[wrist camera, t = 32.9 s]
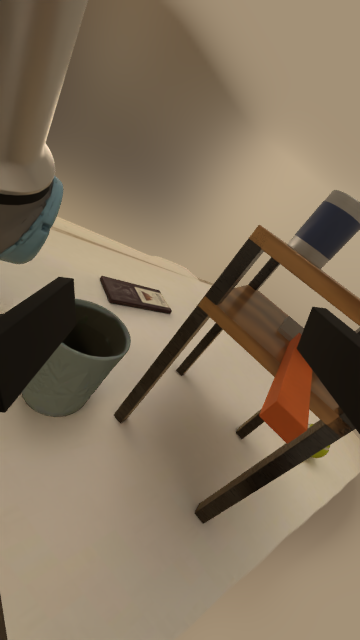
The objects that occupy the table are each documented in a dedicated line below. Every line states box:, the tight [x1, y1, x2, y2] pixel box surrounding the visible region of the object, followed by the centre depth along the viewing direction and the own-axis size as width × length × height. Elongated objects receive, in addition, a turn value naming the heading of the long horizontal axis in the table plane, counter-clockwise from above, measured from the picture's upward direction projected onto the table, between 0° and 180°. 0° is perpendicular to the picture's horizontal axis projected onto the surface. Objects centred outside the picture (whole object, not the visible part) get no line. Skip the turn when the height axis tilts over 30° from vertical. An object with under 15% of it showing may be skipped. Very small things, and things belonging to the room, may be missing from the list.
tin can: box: [287, 190, 360, 269], centre depth 33 cm, size 6×6×8 cm
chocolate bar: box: [100, 276, 172, 313], centre depth 66 cm, size 9×1×18 cm
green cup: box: [22, 299, 131, 417], centre depth 32 cm, size 10×10×12 cm
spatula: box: [259, 316, 312, 444], centre depth 26 cm, size 27×6×2 cm, turn 146°
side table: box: [114, 225, 360, 524], centre depth 36 cm, size 20×18×31 cm
